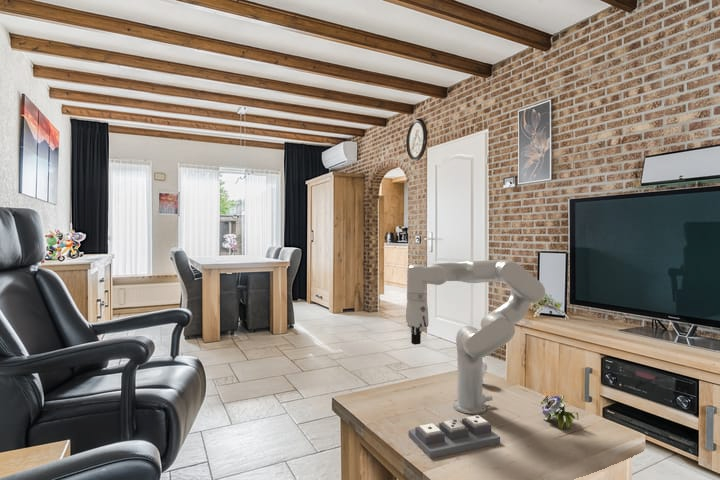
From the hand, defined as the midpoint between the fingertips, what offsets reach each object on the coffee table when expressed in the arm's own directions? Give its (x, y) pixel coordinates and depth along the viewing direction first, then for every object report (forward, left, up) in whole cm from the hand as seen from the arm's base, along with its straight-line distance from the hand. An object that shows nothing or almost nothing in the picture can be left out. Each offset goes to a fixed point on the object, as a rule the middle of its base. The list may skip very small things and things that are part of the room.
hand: (415, 343), depth 154 cm
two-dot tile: (-9, +26, -23) cm, 36 cm away
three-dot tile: (0, +26, -23) cm, 35 cm away
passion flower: (-43, +28, -25) cm, 57 cm away
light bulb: (-40, -13, -25) cm, 49 cm away
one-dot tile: (+9, +26, -23) cm, 36 cm away
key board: (0, +26, -25) cm, 36 cm away
